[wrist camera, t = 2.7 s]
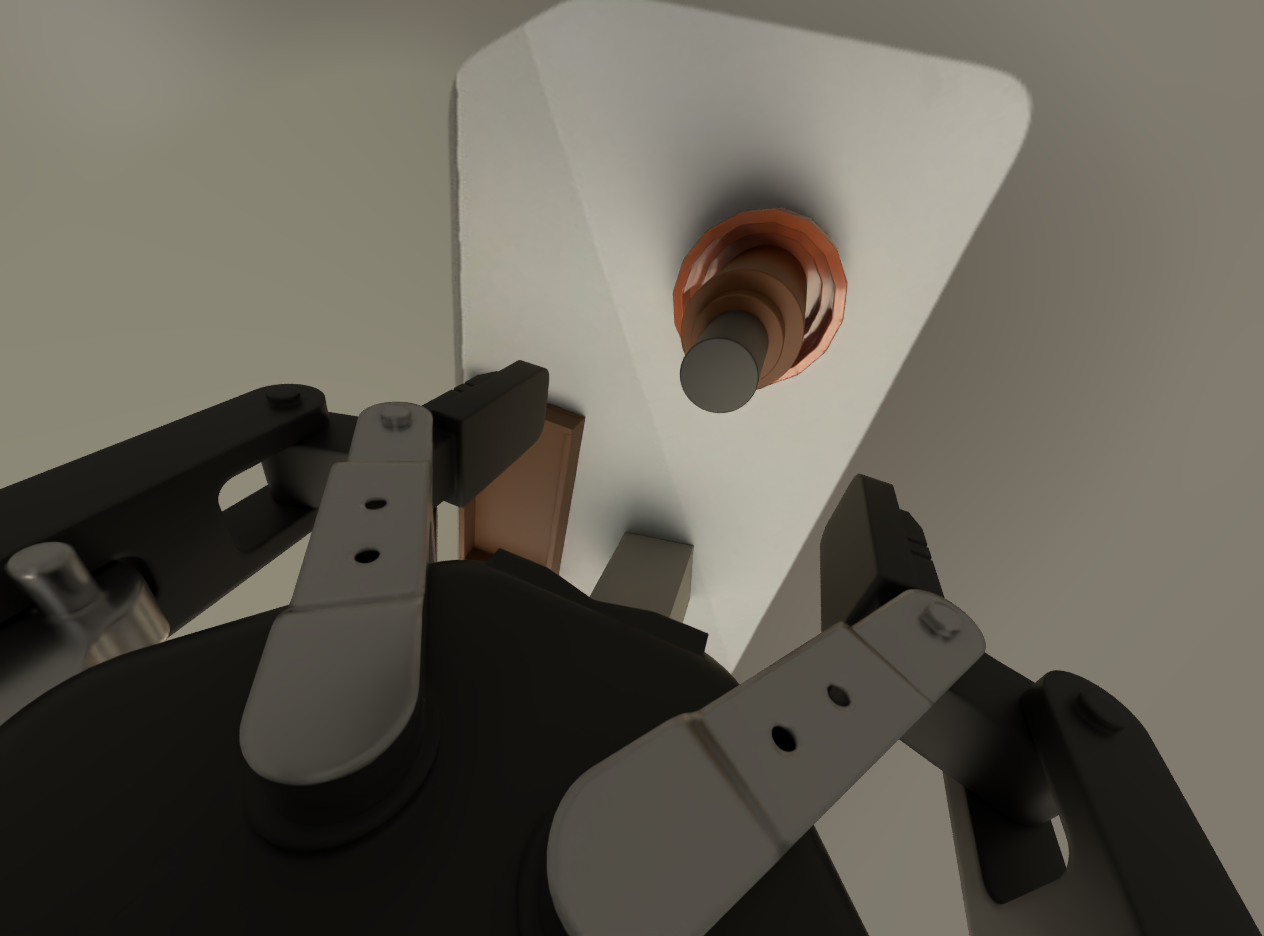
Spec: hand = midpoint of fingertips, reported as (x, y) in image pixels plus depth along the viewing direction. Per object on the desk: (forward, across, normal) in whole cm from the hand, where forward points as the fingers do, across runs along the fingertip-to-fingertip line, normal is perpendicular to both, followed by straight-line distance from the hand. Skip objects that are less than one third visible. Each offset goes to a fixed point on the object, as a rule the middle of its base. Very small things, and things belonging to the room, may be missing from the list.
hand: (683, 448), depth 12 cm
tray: (+23, +16, +24) cm, 37 cm away
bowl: (+23, 0, 0) cm, 23 cm away
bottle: (+23, 0, 0) cm, 23 cm away
